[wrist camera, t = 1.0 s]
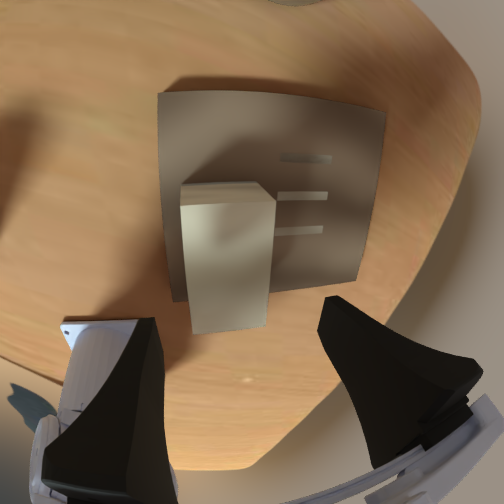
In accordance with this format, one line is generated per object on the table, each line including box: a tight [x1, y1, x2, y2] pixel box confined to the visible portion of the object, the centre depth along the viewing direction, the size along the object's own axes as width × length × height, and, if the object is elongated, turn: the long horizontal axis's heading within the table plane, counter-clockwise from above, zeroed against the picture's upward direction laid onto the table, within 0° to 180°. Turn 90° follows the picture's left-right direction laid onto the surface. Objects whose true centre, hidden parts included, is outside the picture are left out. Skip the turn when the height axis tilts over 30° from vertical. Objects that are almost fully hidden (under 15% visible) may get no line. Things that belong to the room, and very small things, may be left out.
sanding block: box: [180, 181, 276, 335], centre depth 16 cm, size 8×4×4 cm, turn 178°
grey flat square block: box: [158, 90, 386, 302], centre depth 18 cm, size 14×15×2 cm
